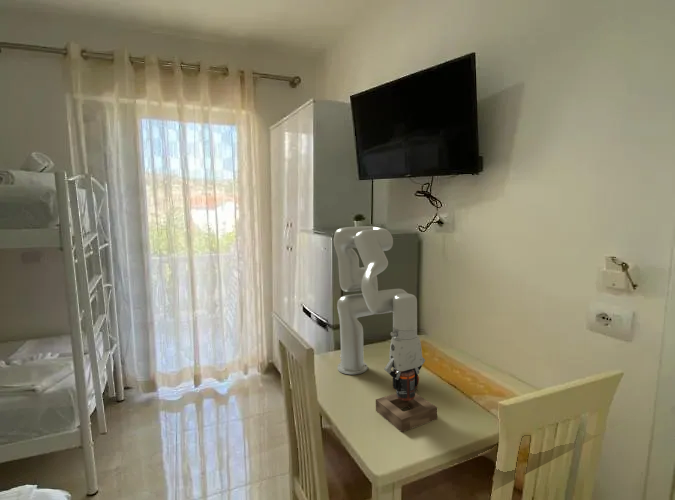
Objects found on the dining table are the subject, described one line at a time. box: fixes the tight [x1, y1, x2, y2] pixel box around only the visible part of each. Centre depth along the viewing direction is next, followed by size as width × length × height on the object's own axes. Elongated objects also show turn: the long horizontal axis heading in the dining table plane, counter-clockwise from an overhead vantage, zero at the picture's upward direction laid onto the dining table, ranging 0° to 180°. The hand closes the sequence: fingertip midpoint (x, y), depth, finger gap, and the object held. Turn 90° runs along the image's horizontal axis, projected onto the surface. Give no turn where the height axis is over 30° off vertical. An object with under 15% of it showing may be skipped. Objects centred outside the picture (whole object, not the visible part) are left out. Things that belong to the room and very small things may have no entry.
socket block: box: [375, 392, 438, 433], centre depth 123 cm, size 14×14×4 cm
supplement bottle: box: [395, 369, 416, 401], centre depth 122 cm, size 6×6×11 cm
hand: (405, 386), depth 122 cm, fingers closed on supplement bottle, 6 cm apart
